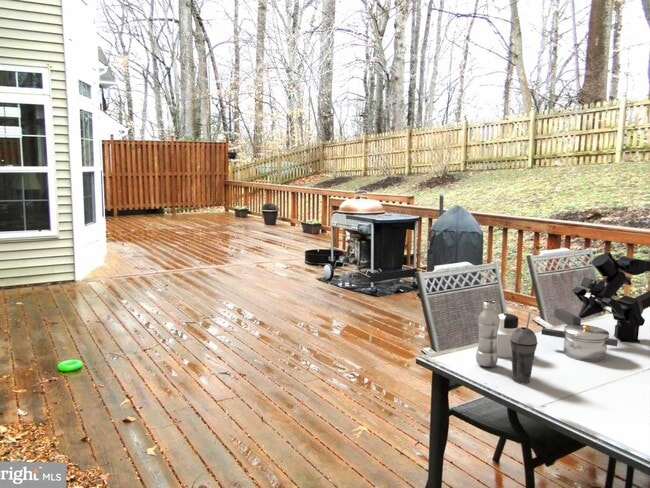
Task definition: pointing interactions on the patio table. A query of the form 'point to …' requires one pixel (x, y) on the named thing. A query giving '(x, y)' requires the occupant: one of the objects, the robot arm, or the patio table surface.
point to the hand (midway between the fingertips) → (579, 317)
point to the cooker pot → (582, 346)
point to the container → (506, 334)
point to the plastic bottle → (488, 335)
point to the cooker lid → (580, 327)
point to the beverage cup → (523, 353)
